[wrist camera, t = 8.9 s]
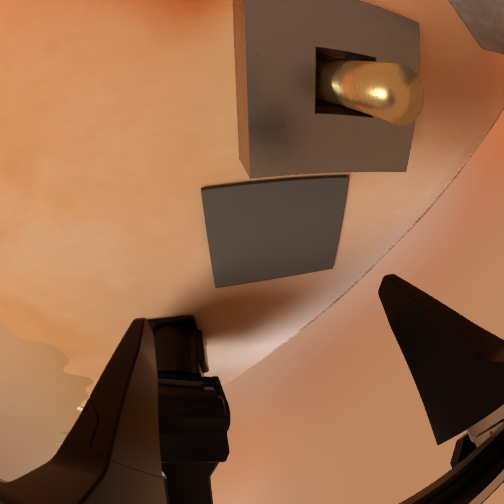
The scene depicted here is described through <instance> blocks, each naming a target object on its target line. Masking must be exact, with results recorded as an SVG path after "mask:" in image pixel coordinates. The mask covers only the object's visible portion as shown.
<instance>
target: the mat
mask: <svg viewBox="0 0 504 504" xmlns="http://www.w3.org/2000/svg"><path fill="white" fill-rule="evenodd" d="M348 179H349V177H347V176H328V177H310V178H295V179H282V180H271V181H260V182H250V183H241V184H232V185H224V186H216V187H208V188H201V193H202V201H203V208H204V216H205V223H206V230H207V237H208V244H209V250H210V257H211V263H212V269H213V276H214V282H215V288H220V287H226V286H233V285H239V284H246V283H252V282H258V281H264V280H270V279H276V278H282V277H288V276H294V275H300V274H305V273H311V272H316V271H322V270H327V269H333V266H334V261H335V256H336V251H337V246H338V241H339V235H340V230H341V224H342V219H343V213H344V206H345V200H346V193H347V187H348Z"/></svg>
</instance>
